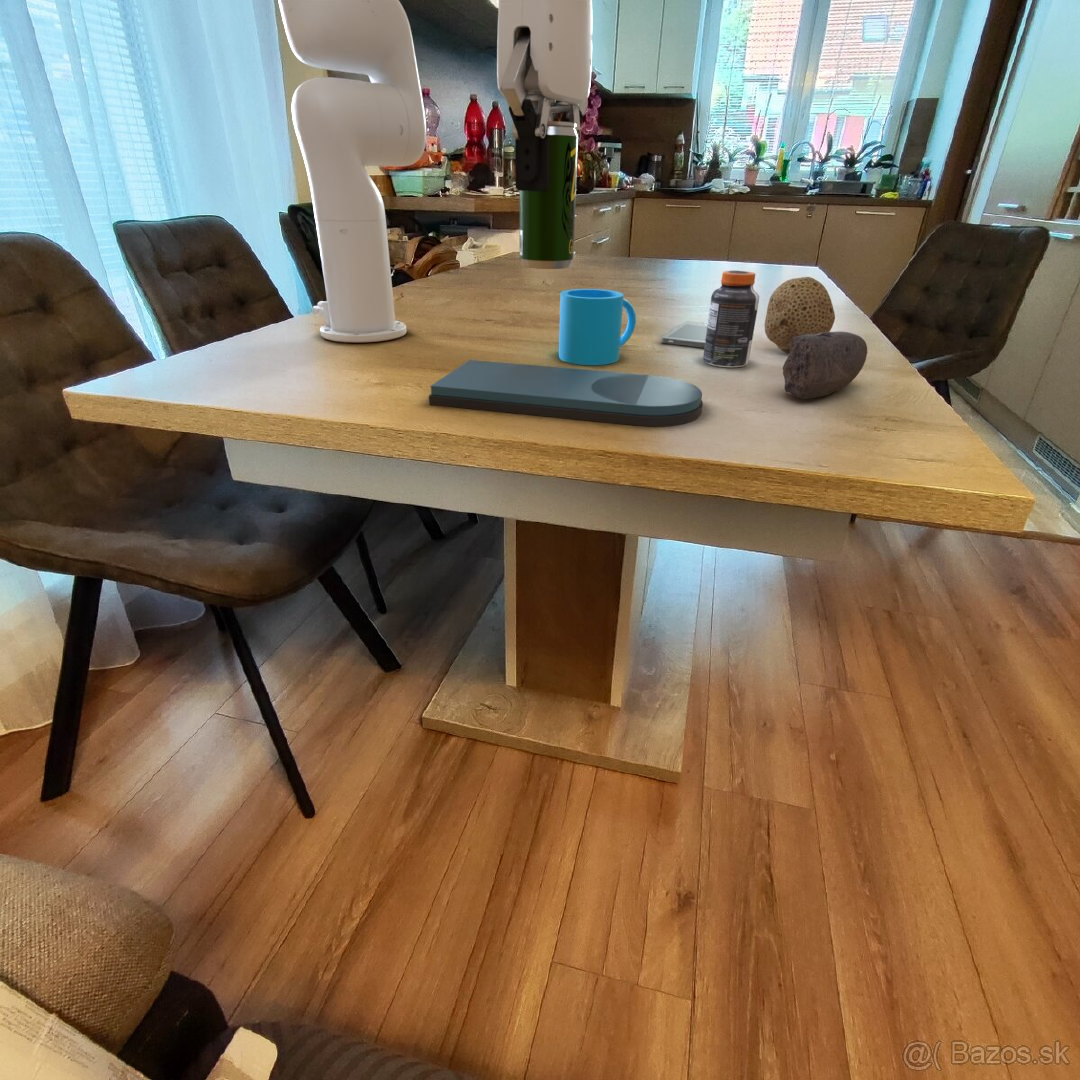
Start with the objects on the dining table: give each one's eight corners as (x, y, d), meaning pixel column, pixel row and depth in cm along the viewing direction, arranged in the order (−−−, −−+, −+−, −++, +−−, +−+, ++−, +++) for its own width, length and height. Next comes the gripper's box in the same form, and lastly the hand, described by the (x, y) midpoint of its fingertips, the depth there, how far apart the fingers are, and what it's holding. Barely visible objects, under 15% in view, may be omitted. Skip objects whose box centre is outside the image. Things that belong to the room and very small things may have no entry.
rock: (836, 377, 79) (850, 319, 76) (877, 387, 76) (894, 326, 72) (763, 397, 71) (775, 333, 68) (804, 409, 68) (820, 343, 64)
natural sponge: (833, 351, 91) (851, 277, 86) (814, 363, 85) (833, 284, 80) (771, 342, 96) (784, 271, 91) (749, 353, 90) (762, 277, 85)
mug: (584, 368, 81) (587, 300, 77) (546, 355, 87) (547, 291, 83) (652, 356, 87) (658, 293, 83) (612, 344, 93) (617, 285, 89)
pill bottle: (756, 363, 85) (772, 271, 79) (734, 371, 81) (750, 275, 76) (716, 355, 88) (729, 267, 83) (693, 362, 85) (706, 270, 79)
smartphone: (716, 349, 91) (716, 344, 91) (660, 342, 94) (661, 337, 94) (736, 330, 103) (737, 325, 102) (686, 325, 106) (687, 320, 105)
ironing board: (429, 404, 67) (427, 385, 66) (469, 375, 77) (468, 358, 76) (698, 432, 61) (701, 411, 60) (703, 396, 71) (706, 378, 70)
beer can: (525, 269, 61) (526, 119, 55) (514, 263, 65) (514, 124, 59) (579, 269, 62) (585, 122, 56) (565, 262, 66) (569, 126, 61)
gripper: (555, -32, 60) (551, 189, 68) (453, -95, 46) (464, 190, 55) (631, -42, 57) (616, 190, 66) (545, -111, 43) (541, 192, 52)
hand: (547, 188), depth 60 cm, fingers closed on beer can, 5 cm apart
